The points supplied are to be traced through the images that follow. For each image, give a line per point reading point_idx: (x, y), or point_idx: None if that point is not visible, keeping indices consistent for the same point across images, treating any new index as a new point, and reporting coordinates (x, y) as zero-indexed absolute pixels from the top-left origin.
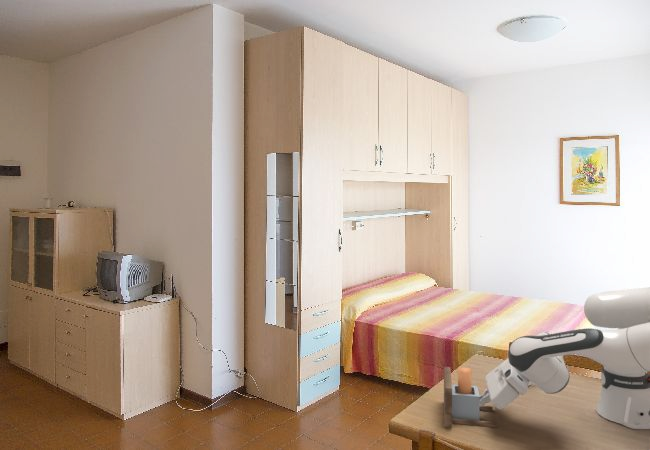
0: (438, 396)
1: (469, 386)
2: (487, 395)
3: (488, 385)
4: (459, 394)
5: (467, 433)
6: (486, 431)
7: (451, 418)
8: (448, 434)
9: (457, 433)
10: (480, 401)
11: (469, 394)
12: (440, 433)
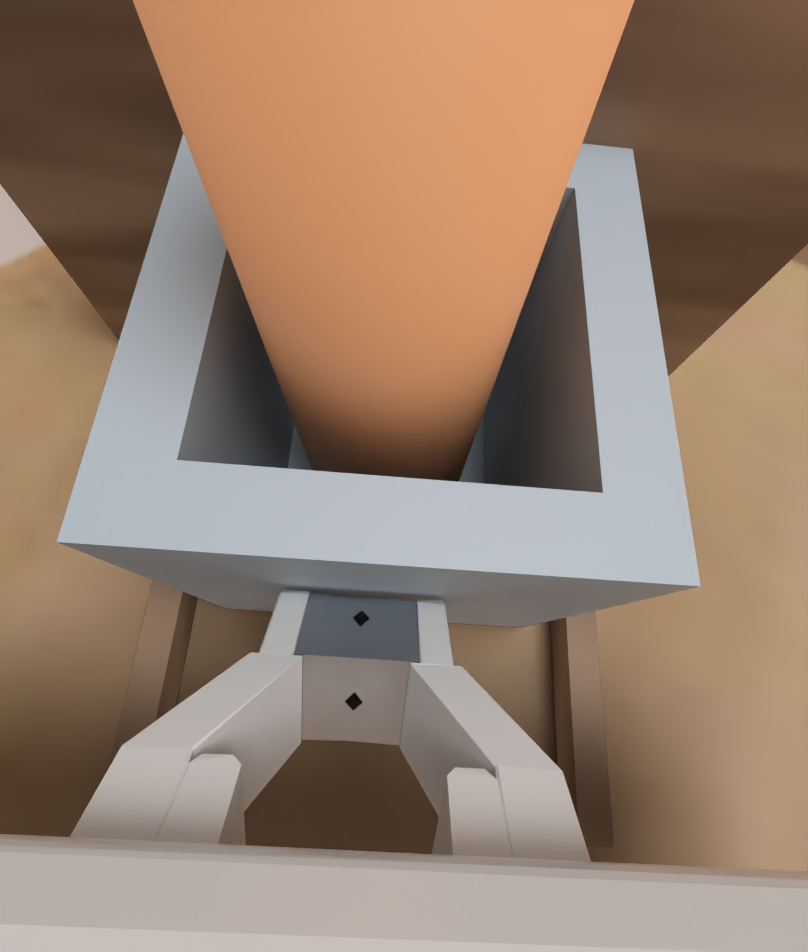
0: (753, 318)
1: (231, 252)
2: (110, 768)
3: (484, 935)
4: (195, 199)
5: (8, 461)
6: (29, 661)
7: (74, 277)
8: (11, 309)
9: (20, 378)
10: (274, 612)
11: (191, 352)
12: (36, 258)
